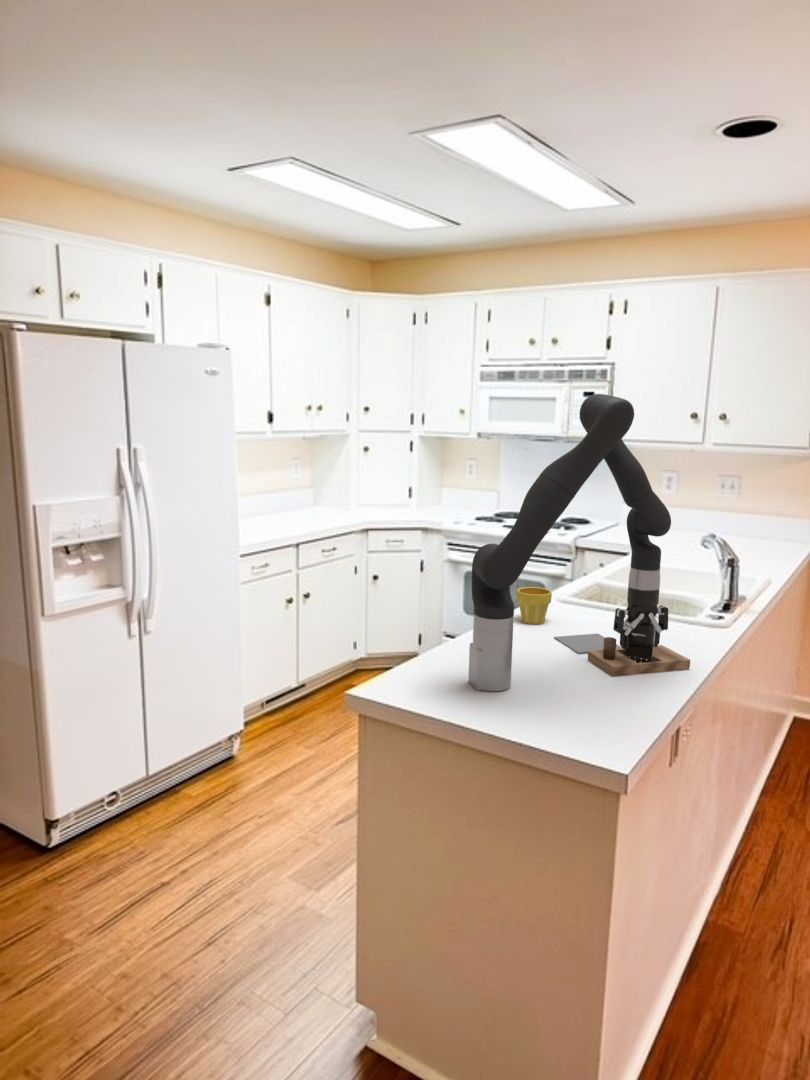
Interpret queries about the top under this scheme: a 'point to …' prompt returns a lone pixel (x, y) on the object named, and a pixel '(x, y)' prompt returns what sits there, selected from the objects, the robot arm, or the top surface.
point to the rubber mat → (583, 642)
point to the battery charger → (641, 643)
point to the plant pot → (533, 604)
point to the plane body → (621, 665)
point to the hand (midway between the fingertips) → (639, 647)
